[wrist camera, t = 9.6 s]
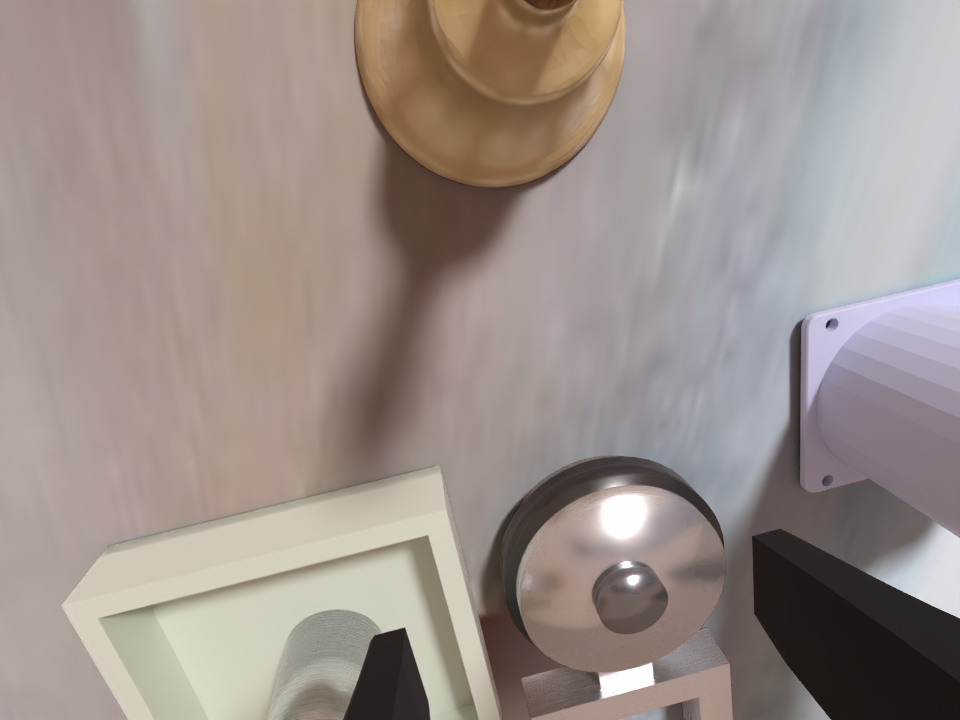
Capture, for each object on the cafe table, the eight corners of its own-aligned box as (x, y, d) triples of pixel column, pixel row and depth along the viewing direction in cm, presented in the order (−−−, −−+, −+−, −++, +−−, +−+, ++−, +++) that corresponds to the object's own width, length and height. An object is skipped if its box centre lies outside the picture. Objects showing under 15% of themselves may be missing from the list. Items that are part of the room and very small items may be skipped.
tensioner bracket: (692, 423, 22) (748, 471, 19) (714, 756, 29) (758, 838, 25) (474, 477, 22) (489, 537, 18) (549, 804, 28) (571, 895, 25)
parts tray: (440, 465, 21) (446, 509, 18) (498, 697, 25) (511, 762, 23) (108, 545, 20) (61, 605, 18) (226, 771, 25) (204, 849, 22)
